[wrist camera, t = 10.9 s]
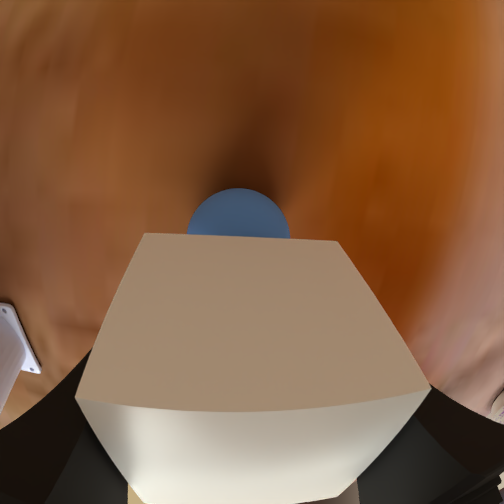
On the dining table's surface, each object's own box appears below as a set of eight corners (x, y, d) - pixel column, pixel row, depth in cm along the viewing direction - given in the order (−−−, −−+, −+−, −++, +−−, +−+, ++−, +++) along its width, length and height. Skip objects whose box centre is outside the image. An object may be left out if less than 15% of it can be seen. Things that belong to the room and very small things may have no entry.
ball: (191, 162, 14) (193, 220, 18) (176, 261, 12) (184, 301, 16) (298, 172, 14) (276, 226, 19) (306, 270, 12) (278, 307, 17)
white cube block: (160, 367, 13) (143, 502, 7) (144, 233, 10) (74, 397, 4) (303, 368, 13) (337, 496, 8) (337, 241, 10) (431, 388, 5)
